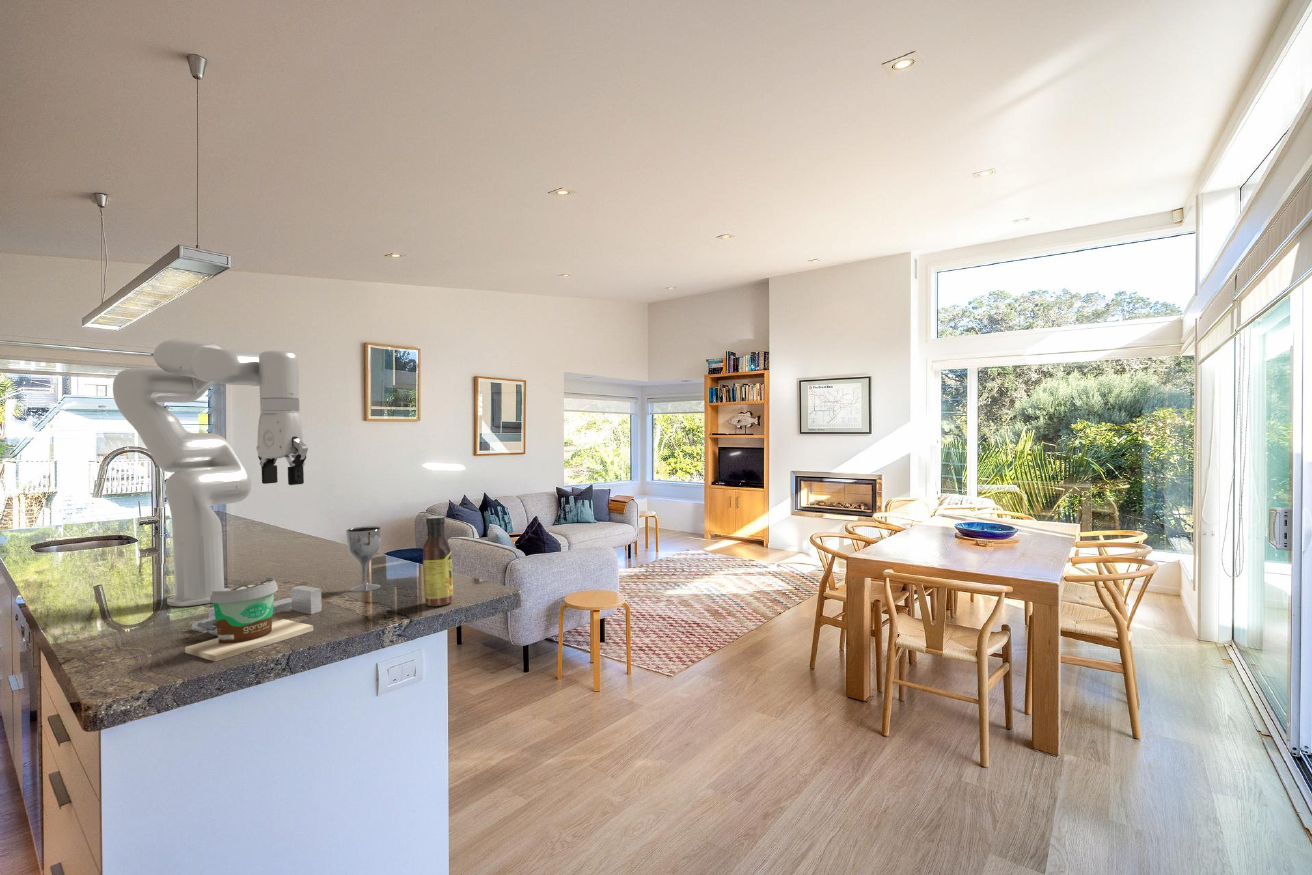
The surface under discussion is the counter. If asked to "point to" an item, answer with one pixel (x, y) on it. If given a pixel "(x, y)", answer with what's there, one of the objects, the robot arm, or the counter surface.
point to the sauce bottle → (437, 564)
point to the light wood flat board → (221, 651)
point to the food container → (244, 611)
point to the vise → (275, 607)
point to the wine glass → (364, 550)
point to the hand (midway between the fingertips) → (282, 483)
